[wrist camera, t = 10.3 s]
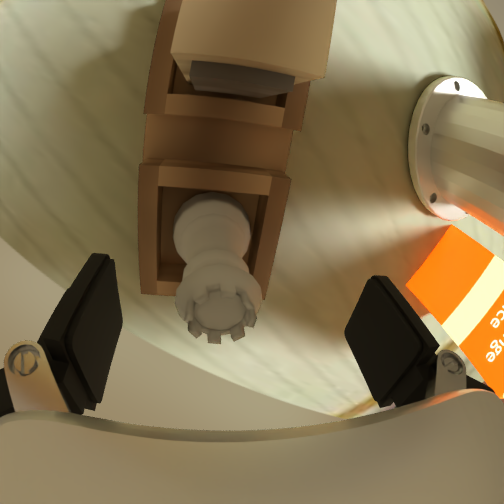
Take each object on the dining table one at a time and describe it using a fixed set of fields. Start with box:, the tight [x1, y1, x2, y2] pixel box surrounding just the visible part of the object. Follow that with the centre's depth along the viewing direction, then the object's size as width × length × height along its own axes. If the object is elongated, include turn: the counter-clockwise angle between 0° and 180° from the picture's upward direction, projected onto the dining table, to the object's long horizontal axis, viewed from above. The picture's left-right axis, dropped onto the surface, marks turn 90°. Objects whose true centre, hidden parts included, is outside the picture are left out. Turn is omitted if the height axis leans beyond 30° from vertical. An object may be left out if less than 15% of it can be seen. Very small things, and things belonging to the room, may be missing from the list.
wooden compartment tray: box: [138, 0, 337, 300], centre depth 11 cm, size 8×20×9 cm, turn 171°
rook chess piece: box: [173, 192, 262, 344], centre depth 13 cm, size 4×4×8 cm
